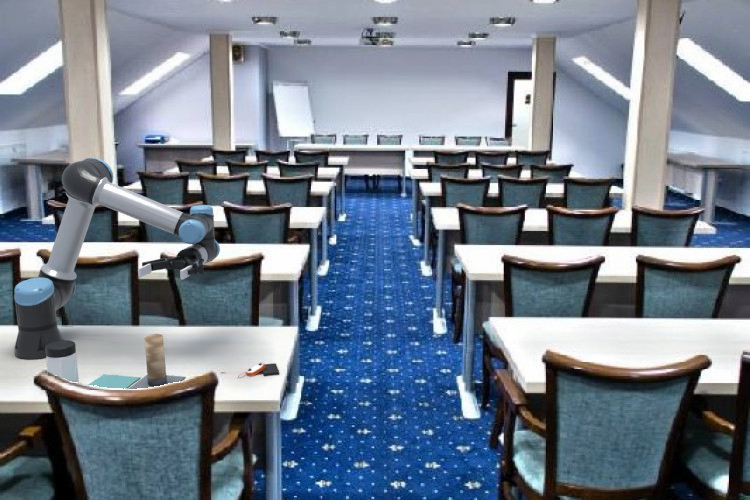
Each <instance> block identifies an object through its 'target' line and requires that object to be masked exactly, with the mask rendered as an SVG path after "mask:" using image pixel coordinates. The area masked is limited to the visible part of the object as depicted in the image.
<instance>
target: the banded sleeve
mask: <svg viewBox="0 0 750 500" xmlns="http://www.w3.org/2000/svg"><path fill="white" fill-rule="evenodd" d="M143 338H144V348H145V349H144V351H145V361H146V364H145V365H146V375H147V376H148V377H147V380H148V385H149V386H160V385H164V384H166V383H167V370H166V357H165V355H166V354H165V346H164V345H165V343H164V335H163V334H159V333H153V334H148V335H146V336H144V337H143Z"/></svg>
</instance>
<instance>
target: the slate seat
mask: <svg viewBox="0 0 750 500" xmlns="http://www.w3.org/2000/svg"><path fill="white" fill-rule="evenodd" d="M166 375H167V374H166ZM147 377H148V376H147V374H145V376H144V377H142V378H140V379H139V380H138V381H136V382H135V383H134V384H132V385H131V386H130V387H128V389H137V388H148V387H154V386H149V385H148V380H147ZM185 379H186V376H182V375H170V374H169V375H167V383H166V384H168V383H173V382H179V381H181V382H182V380H183V381H184V380H185Z"/></svg>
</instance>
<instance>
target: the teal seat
mask: <svg viewBox="0 0 750 500" xmlns="http://www.w3.org/2000/svg"><path fill="white" fill-rule="evenodd" d="M139 380H141V376H130V375H129V376H128V375H116V374H106V373H105V374H102V375H100V376H99V377H97V378H96V379H94V380H93V381H92V382H90V383H89V384H87V385H93V386H94V385H97V386H99V387H107V388H123V389H124V388H127V389H129V388H130V387H131V386H133V385H134V384H135V383H137V382H138V381H139Z"/></svg>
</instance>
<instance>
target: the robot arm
mask: <svg viewBox="0 0 750 500" xmlns="http://www.w3.org/2000/svg"><path fill="white" fill-rule="evenodd" d="M113 181H114V172H113V170H112V168H111V166H110V165H109V164H108V163H107V162H106V161H104V160H102V159H100V158H94V157H89V158H85V159H82V160H80V161H75V162H72V163H70V164H69V165H67V166H66V168H65V169H64V170H63V173H62V175H61V183H62V186H63V189H64V190H65V195H66V196H67V198H68V200H67V204H66V206H65V209H64V212H63V215H62V219H61V220H60V221H61V222H60V225H59V227H58V231H57V234H56V237H55V239H54V243H53V246H52V248H51V251H50V254H49V258H48V261H47V262H46V263H45V264H42V265H41V267H40V269H39V273H38V275H37V276H38V277H32V278H29V279H27V280H22V281H20V282H18V284H16V285H15V287H14V292H13V293H14V295H13V298H14V302H15V303H14V304H15V305H14V306H15V312H16V321H17V328H18V329H17V330H18V333H17V337H16V340H15V345H14V356H15V357H16V358H18V359H24V360H38V359H46V352H45V346H46V345H47V344H49V343H51V342H55V341H61V340H64V338H63V336H62V333H61V331H60V329H59V327H58V320H57V319H58V318H57V311H58V310H59V309H61V308H62V307H64V306H66V305H67V304H68V303H69V302H70V301H71V300H72V299H73V297H74V296H75V293H76V289H77V284H76V280H77V276H78V275H77V273H76V272H75V268H76V266H77V265H76V264H77V262H78V258H79V256H80V254H81V250H82V247H83V244H84V242H85V239H86V236H87V232H88V229H89V226H90V223H91V220H92V217H93V216H94V215H93V214H94V212H95V209H96V207H98V206H100V205H101V206H103V207H105V208H108V209H111V210H113V211H116V212H118V213H120V214H122V215H124V216H125V215H126V216H127V217H131V218H133V219H135V220H138V221H140V222H142V223H145V224H147V225H150V226H153V227H155V228H158V229H160V230H163V231H164V232H167V233H170V234H172V235H174V236H177V237H179V238H180V239H181V240H182V242H184V243H185V244H186V245H187V244H188V245H190V246H187V247H186V248H183V249H181V250H180V251H179V252H177V254H176V256H174V257H169V258H168V257H167V256H164V257H161V258H158V259H157V258H156V259H152V260H148V261H143V262H142V263H141V266H140V267H138V269H137V272H138V273H137V274H138V278H143V277H144V276H146V275H150V274H151V273H152V272H153V271H154V272H155V271H160V270H169V271H171V270H179V276H180V280H185V279H186V278H188V277H190V276H192V275H197V274H198V273H199V274H200V275H202V274H204V268H205V265H206V264H208V263H211V262H213V261H214V260H215V259H216V258H217V257H218V256H219V255H220V253H221V252H220V251H221V247H220V245H219V243H218V241H217V240H216V238H215V222H214V221H215V215H214V209H213V207H212V206H211V205H209V204H207V205H206V204H203V205H202V204H200V205H199V204H198V205H193V206H191V207H190V209H189V214H187V213H184V212H182V211H180V210H178V209H175V208H172V207H171V206H169V205H165V204H163V203H161V202H158V201H156V200H154V199H152V198H149V197H146V196H144V195H141V194H139V193H136V192H134V191H132V190H129V189H127V188H124V187H123V186H119V185H117V184H115V183H113Z"/></svg>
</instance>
